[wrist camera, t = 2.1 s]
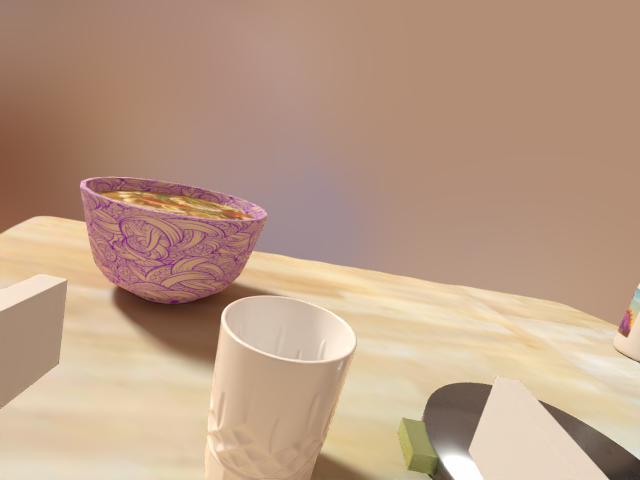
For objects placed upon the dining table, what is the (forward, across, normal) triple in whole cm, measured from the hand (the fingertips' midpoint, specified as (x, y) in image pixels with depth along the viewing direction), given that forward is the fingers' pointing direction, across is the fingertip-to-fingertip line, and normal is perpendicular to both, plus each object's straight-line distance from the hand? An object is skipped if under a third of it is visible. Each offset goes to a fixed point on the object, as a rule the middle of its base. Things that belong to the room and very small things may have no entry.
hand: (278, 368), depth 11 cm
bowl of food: (+33, -15, -13) cm, 38 cm away
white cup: (+10, 0, -13) cm, 17 cm away
